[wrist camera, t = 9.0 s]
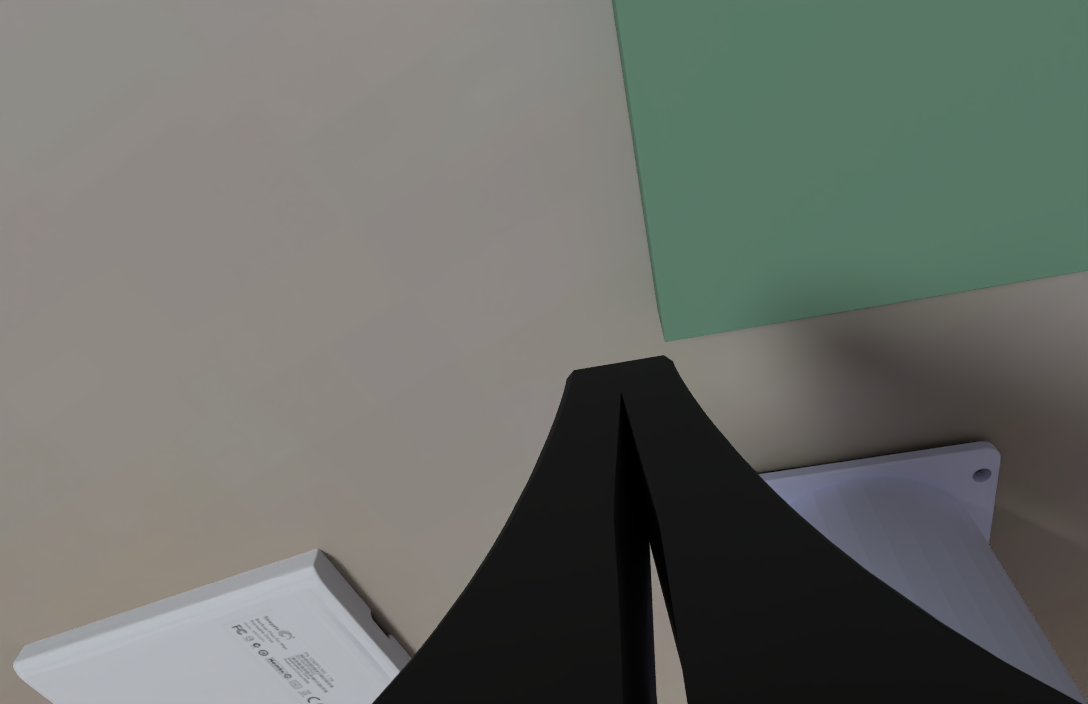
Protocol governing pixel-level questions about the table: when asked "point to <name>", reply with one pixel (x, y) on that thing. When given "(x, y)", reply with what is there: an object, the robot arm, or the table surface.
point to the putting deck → (853, 151)
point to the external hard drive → (226, 645)
